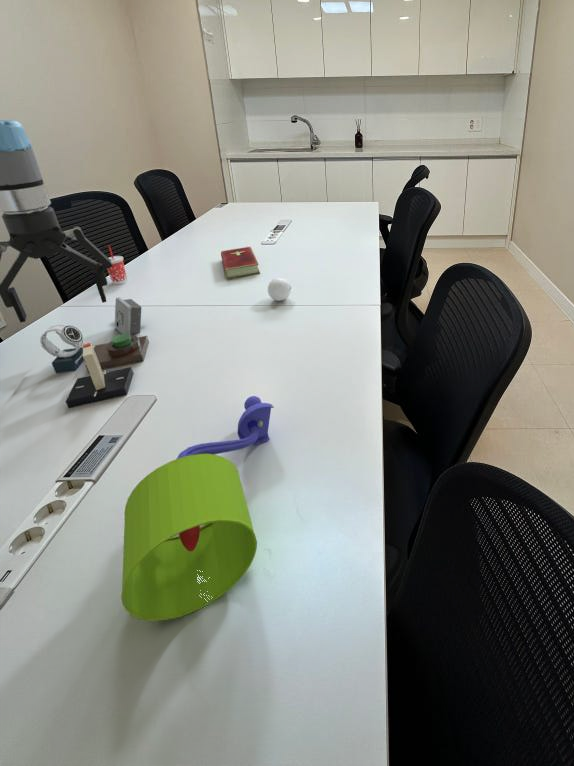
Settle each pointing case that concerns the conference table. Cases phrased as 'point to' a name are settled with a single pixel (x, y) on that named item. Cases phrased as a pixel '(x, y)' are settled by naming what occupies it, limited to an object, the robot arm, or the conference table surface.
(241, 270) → the hardcover book
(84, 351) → the cream rectangular block
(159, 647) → the conference table surface
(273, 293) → the white ovoid piece
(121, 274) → the beverage cup
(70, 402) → the dimmer panel
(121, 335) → the button
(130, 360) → the switch block
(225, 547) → the wall lamp
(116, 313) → the electrical switch
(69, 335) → the watch
